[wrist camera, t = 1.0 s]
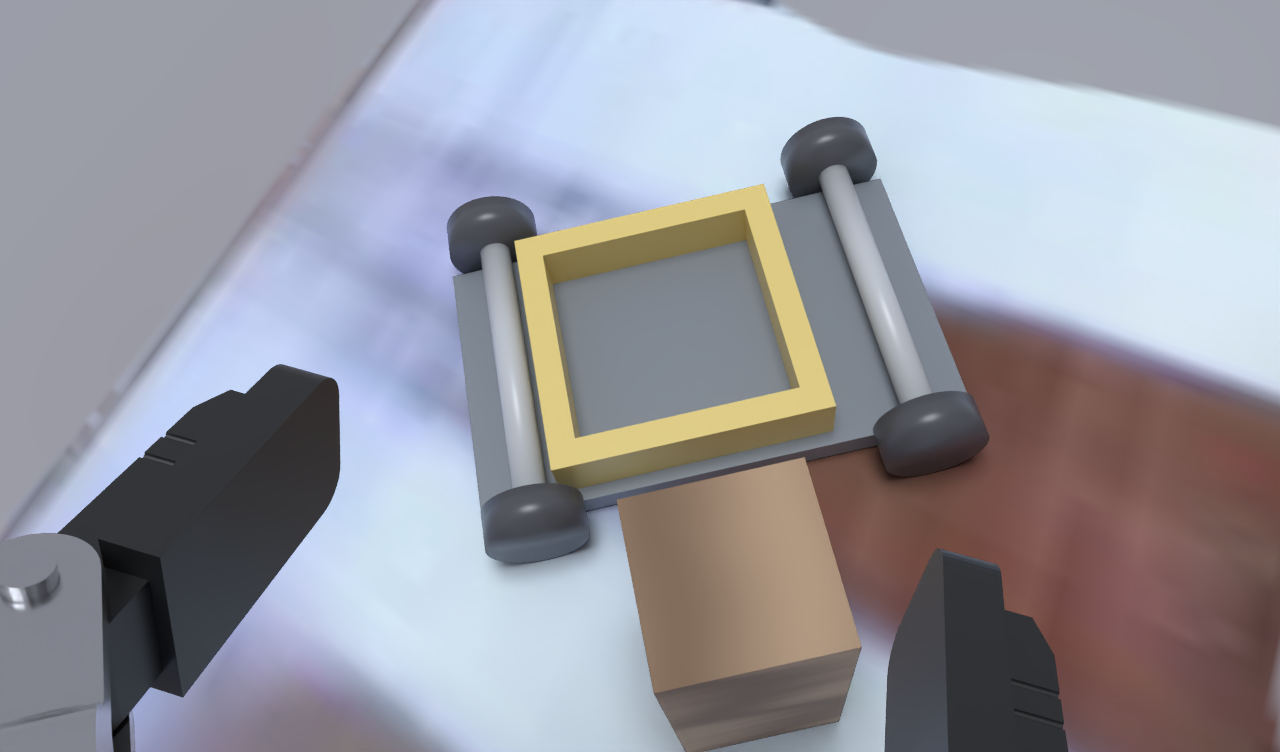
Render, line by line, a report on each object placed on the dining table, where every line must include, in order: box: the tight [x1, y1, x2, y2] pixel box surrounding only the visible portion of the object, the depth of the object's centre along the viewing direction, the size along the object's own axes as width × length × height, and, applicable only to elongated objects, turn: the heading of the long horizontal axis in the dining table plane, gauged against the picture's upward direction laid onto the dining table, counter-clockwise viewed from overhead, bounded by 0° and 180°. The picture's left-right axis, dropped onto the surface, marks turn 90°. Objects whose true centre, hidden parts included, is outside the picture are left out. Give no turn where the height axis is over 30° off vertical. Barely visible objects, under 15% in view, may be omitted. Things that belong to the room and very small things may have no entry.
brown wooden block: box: [617, 457, 861, 752], centre depth 29 cm, size 5×5×10 cm
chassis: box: [447, 117, 989, 563], centre depth 38 cm, size 18×14×4 cm
